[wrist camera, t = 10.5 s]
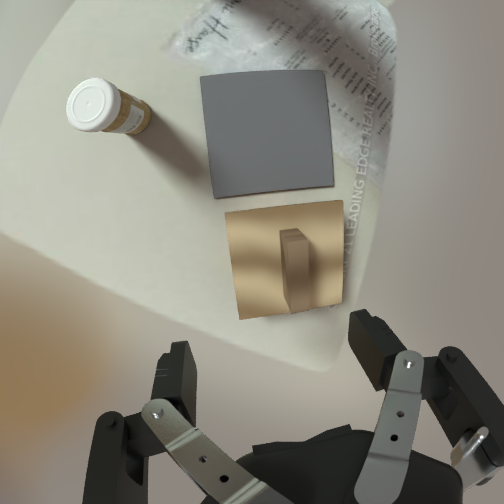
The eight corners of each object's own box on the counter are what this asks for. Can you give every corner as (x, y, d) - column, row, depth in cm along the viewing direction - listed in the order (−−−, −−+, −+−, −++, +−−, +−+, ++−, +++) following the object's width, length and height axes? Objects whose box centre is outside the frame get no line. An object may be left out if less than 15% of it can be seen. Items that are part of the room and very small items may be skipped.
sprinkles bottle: (142, 92, 29) (101, 65, 17) (157, 122, 31) (122, 109, 18) (110, 113, 29) (57, 99, 17) (126, 142, 31) (77, 142, 18)
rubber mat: (200, 77, 29) (199, 76, 29) (321, 71, 30) (323, 70, 30) (214, 197, 35) (213, 198, 34) (332, 184, 36) (333, 185, 35)
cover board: (224, 212, 30) (225, 223, 26) (341, 199, 31) (359, 208, 27) (239, 317, 35) (242, 339, 31) (339, 300, 36) (354, 319, 32)
